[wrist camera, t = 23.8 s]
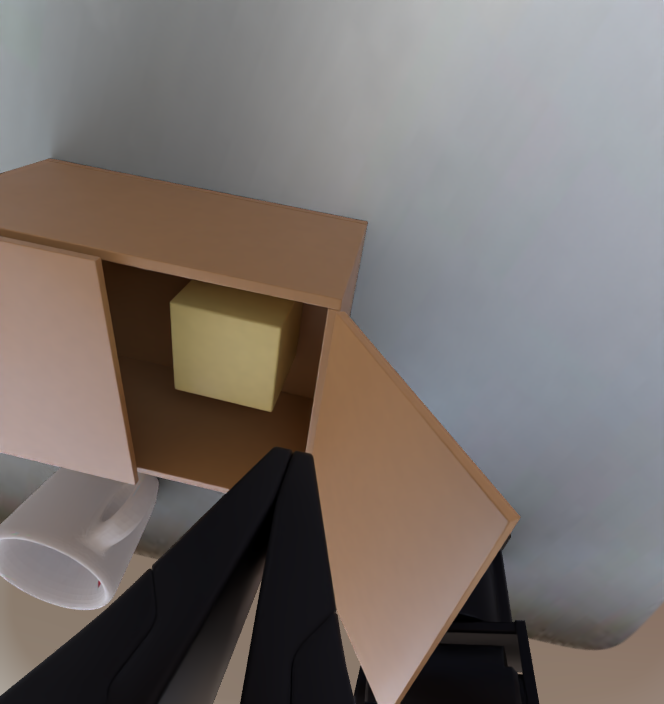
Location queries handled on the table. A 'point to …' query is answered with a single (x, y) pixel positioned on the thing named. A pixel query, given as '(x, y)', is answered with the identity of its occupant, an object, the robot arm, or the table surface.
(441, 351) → the table surface
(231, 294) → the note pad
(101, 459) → the carton
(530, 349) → the table surface
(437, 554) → the flap
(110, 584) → the cup
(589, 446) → the table surface
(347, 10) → the table surface
